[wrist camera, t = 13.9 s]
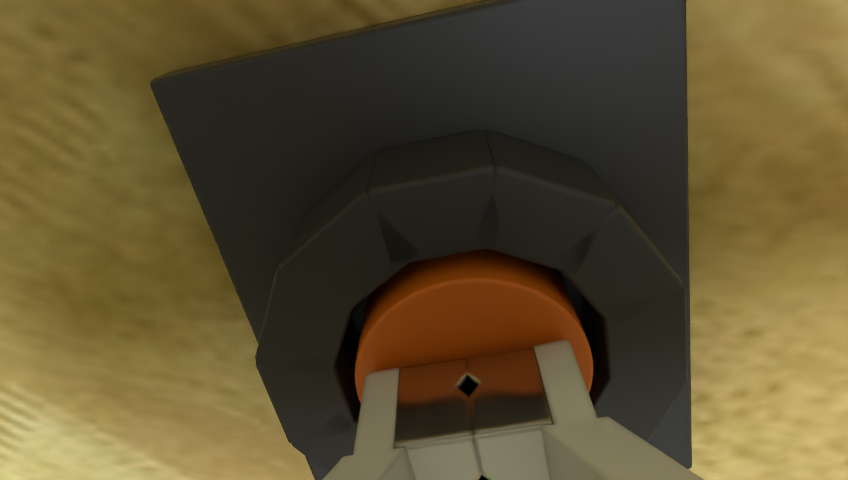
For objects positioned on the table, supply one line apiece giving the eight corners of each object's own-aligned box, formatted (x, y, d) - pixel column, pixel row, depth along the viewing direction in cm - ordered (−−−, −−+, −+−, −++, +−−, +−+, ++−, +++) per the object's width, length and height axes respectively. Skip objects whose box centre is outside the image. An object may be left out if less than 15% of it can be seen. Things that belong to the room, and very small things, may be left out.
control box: (165, 73, 9) (82, 110, 7) (668, -43, 9) (754, -41, 6) (335, 495, 14) (317, 601, 12) (680, 444, 13) (732, 548, 11)
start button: (341, 247, 10) (324, 304, 8) (557, 206, 9) (583, 257, 8) (392, 409, 11) (385, 483, 10) (578, 378, 11) (603, 450, 9)
